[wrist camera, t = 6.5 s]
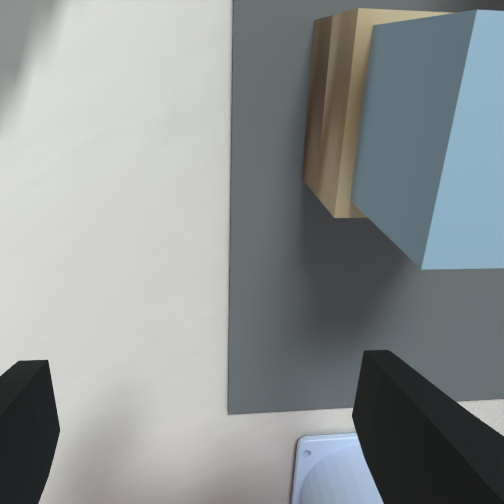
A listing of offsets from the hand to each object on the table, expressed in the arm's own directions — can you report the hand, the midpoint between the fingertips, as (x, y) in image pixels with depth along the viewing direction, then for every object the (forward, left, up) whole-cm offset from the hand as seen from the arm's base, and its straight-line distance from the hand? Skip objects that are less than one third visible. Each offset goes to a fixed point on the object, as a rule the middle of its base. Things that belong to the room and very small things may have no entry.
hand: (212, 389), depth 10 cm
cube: (+6, -7, -5) cm, 10 cm away
